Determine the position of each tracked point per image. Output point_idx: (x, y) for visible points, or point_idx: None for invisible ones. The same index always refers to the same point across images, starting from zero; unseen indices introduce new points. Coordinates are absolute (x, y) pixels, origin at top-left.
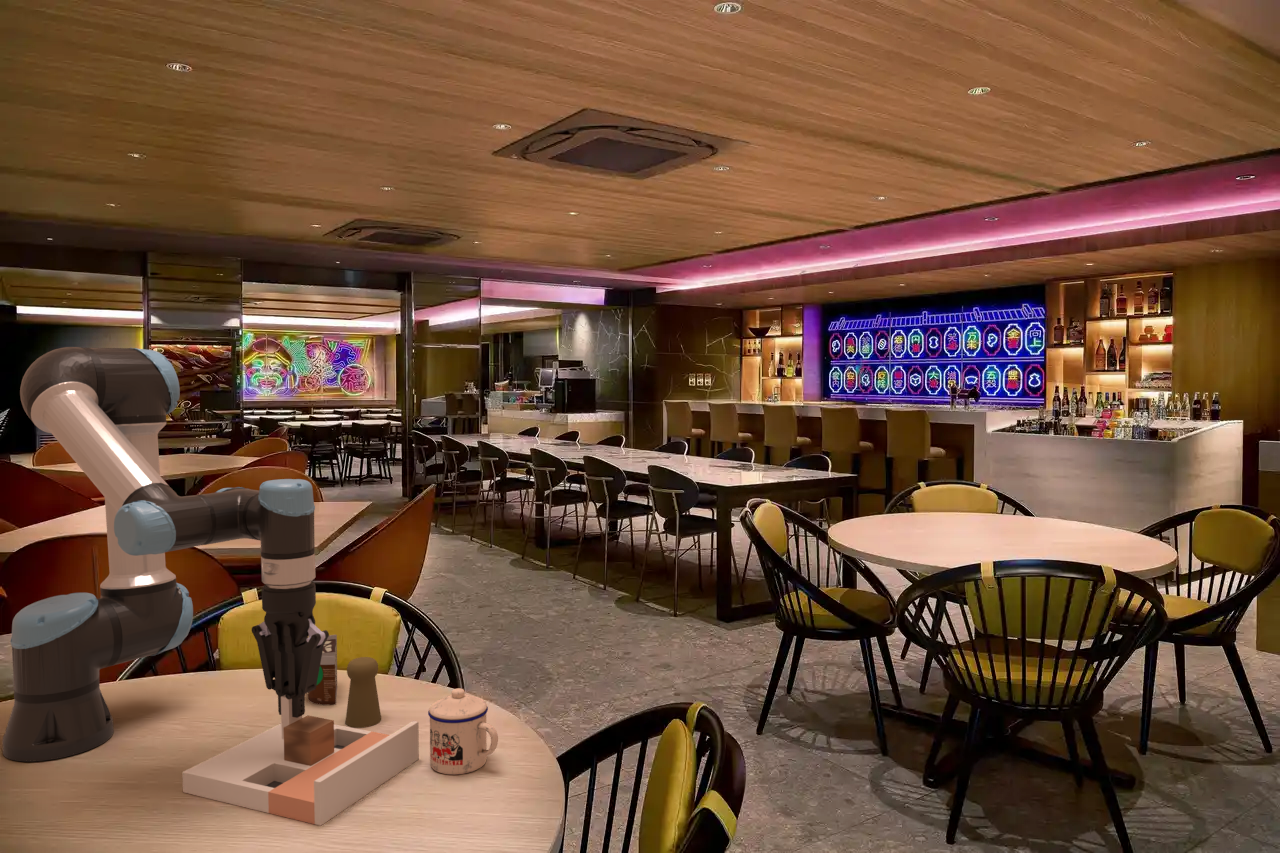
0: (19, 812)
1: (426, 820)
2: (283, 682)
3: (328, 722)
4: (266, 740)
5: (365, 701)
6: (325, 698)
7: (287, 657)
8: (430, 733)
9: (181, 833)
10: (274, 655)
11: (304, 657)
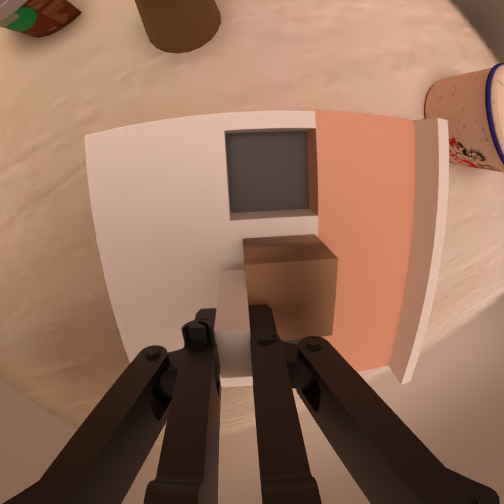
0: (71, 423)
1: (477, 277)
2: (218, 400)
3: (334, 274)
4: (134, 253)
5: (200, 12)
6: (61, 21)
7: (212, 463)
8: (475, 152)
9: (243, 417)
10: (121, 448)
11: (360, 485)
